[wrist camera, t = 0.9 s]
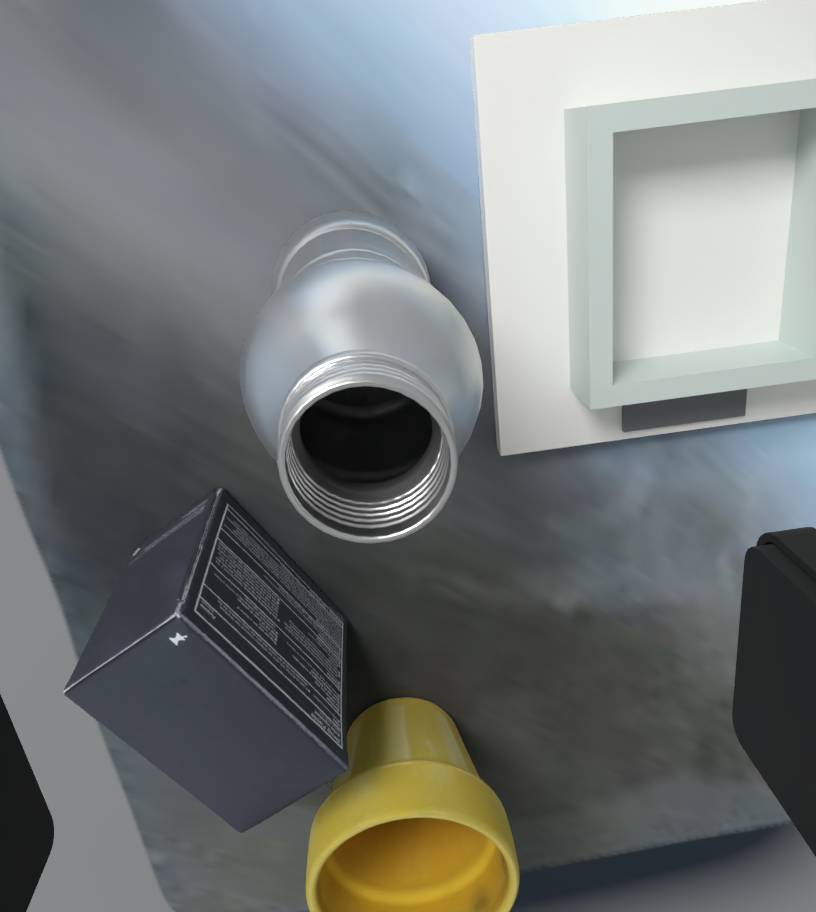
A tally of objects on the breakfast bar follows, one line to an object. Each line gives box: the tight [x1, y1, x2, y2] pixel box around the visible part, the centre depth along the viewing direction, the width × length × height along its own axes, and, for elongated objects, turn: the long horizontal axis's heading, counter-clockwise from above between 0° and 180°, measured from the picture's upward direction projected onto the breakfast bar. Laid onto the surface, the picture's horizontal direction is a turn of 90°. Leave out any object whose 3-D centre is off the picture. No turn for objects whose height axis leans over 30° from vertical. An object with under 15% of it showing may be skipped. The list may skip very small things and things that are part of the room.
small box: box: [63, 488, 349, 833], centre depth 34 cm, size 11×6×10 cm, turn 36°
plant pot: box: [306, 697, 520, 912], centre depth 39 cm, size 10×10×10 cm
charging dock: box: [469, 0, 816, 456], centre depth 32 cm, size 18×18×4 cm
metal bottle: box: [240, 210, 483, 543], centre depth 24 cm, size 6×7×20 cm
